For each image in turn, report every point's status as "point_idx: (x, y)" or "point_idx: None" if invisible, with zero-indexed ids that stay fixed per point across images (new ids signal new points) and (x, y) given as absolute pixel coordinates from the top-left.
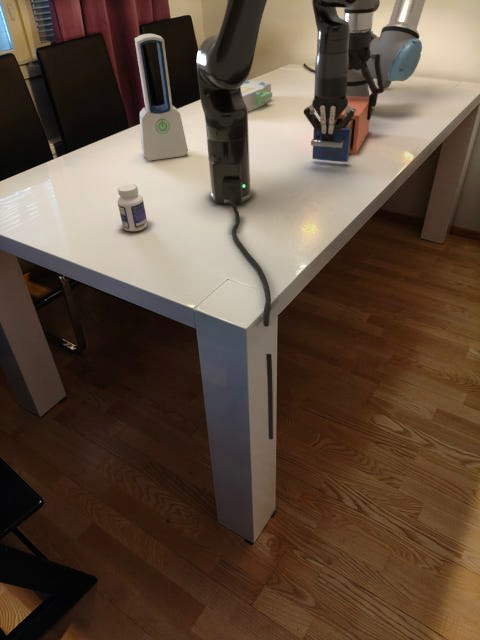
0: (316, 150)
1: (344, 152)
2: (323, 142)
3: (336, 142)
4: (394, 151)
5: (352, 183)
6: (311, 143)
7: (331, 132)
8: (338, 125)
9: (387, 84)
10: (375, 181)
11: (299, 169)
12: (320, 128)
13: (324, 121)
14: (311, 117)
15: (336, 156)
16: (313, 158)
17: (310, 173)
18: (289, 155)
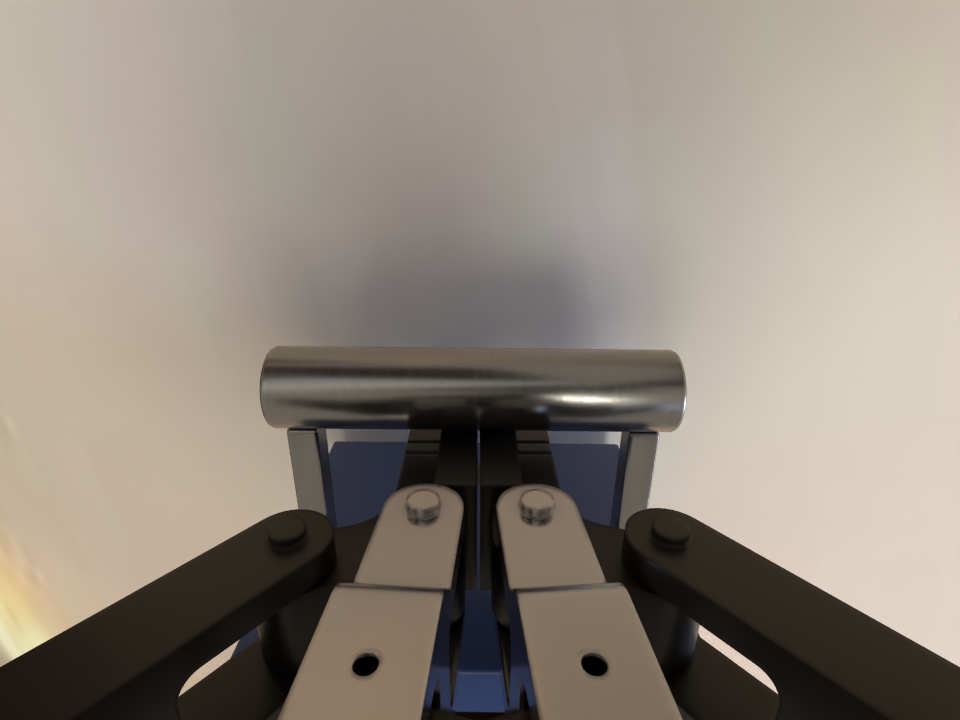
0: (601, 486)
1: (344, 484)
2: (509, 366)
3: (329, 378)
4: None
5: (165, 58)
6: (671, 351)
7: (410, 499)
8: (259, 589)
9: None
10: (7, 162)
11: (693, 272)
12: (609, 557)
13: (549, 619)
14: (914, 717)
15: None
16: (609, 444)
17: (585, 205)
18: (801, 521)
